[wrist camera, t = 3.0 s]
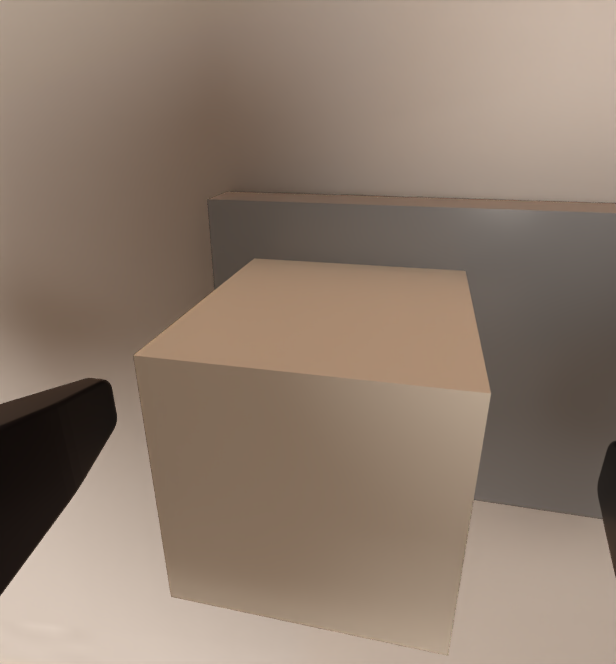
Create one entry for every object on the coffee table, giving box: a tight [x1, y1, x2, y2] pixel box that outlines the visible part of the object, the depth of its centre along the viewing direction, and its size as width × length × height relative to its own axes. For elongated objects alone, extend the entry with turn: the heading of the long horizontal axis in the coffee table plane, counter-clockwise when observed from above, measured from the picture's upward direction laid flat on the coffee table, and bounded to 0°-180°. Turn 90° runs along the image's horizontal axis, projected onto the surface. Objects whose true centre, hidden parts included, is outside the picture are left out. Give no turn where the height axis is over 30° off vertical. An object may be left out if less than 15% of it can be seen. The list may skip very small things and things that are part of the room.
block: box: [133, 258, 491, 655], centre depth 9 cm, size 4×4×5 cm
